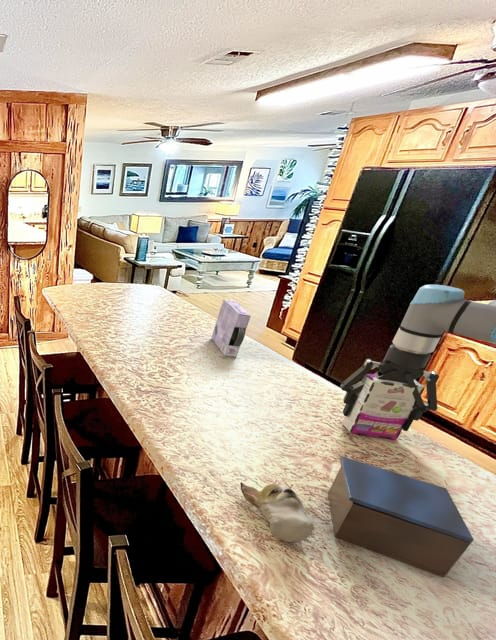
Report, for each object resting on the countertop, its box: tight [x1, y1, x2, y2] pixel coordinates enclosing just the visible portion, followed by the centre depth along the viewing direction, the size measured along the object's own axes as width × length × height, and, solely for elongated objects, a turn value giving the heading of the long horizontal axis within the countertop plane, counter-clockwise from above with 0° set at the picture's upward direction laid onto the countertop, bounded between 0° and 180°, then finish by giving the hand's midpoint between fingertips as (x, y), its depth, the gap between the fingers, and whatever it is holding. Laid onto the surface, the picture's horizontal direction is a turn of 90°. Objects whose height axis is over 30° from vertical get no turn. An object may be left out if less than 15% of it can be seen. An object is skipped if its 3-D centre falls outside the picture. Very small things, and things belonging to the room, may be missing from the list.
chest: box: [327, 466, 472, 578], centre depth 75 cm, size 16×14×9 cm
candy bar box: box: [341, 373, 426, 440], centre depth 103 cm, size 11×5×16 cm, turn 76°
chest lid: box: [339, 455, 475, 543], centre depth 72 cm, size 16×14×1 cm
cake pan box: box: [210, 298, 251, 358], centre depth 152 cm, size 19×5×18 cm, turn 171°
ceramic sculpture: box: [239, 481, 315, 543], centre depth 77 cm, size 11×9×15 cm
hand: (373, 421), depth 105 cm, fingers closed on candy bar box, 12 cm apart
